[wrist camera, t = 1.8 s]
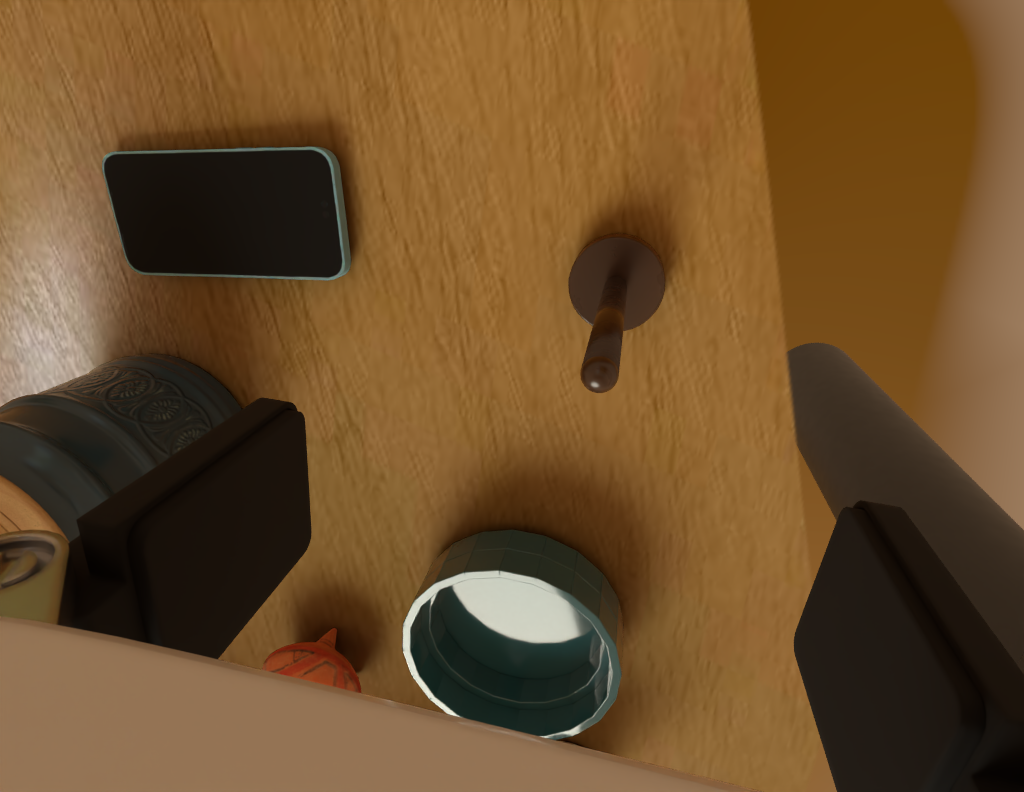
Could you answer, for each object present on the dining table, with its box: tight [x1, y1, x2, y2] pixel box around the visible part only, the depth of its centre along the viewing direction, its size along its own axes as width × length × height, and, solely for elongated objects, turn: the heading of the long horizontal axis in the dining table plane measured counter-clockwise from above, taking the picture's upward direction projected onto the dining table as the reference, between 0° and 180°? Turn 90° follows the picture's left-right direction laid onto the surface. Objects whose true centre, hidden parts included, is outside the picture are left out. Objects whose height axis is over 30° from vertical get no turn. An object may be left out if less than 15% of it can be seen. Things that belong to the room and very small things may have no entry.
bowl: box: [402, 530, 624, 740], centre depth 40 cm, size 14×14×5 cm
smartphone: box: [102, 147, 351, 280], centre depth 35 cm, size 7×1×15 cm
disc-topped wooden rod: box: [569, 234, 665, 393], centre depth 25 cm, size 5×5×16 cm
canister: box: [0, 354, 242, 543], centre depth 35 cm, size 13×13×18 cm
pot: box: [262, 628, 361, 693], centre depth 46 cm, size 8×8×7 cm
